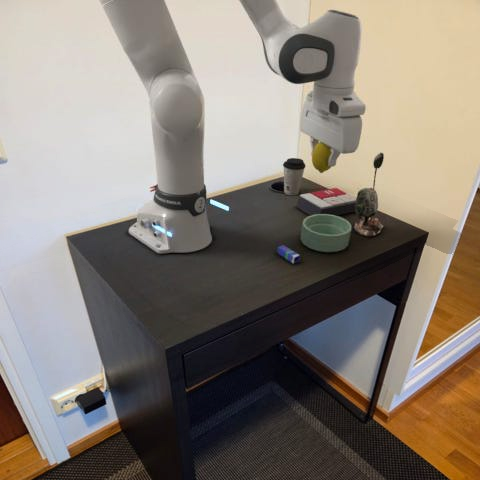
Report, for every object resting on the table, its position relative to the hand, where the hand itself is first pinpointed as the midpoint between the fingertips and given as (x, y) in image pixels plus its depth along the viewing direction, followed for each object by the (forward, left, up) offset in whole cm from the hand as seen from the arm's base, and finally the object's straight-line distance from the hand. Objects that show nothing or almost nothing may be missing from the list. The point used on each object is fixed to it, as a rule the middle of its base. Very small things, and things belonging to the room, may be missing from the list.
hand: (323, 161), depth 107 cm
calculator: (-4, +16, -19) cm, 25 cm away
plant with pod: (+11, +11, -19) cm, 24 cm away
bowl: (+5, -3, -19) cm, 20 cm away
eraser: (+2, -16, -19) cm, 25 cm away
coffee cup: (-19, +20, -19) cm, 34 cm away
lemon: (0, 0, -3) cm, 3 cm away
